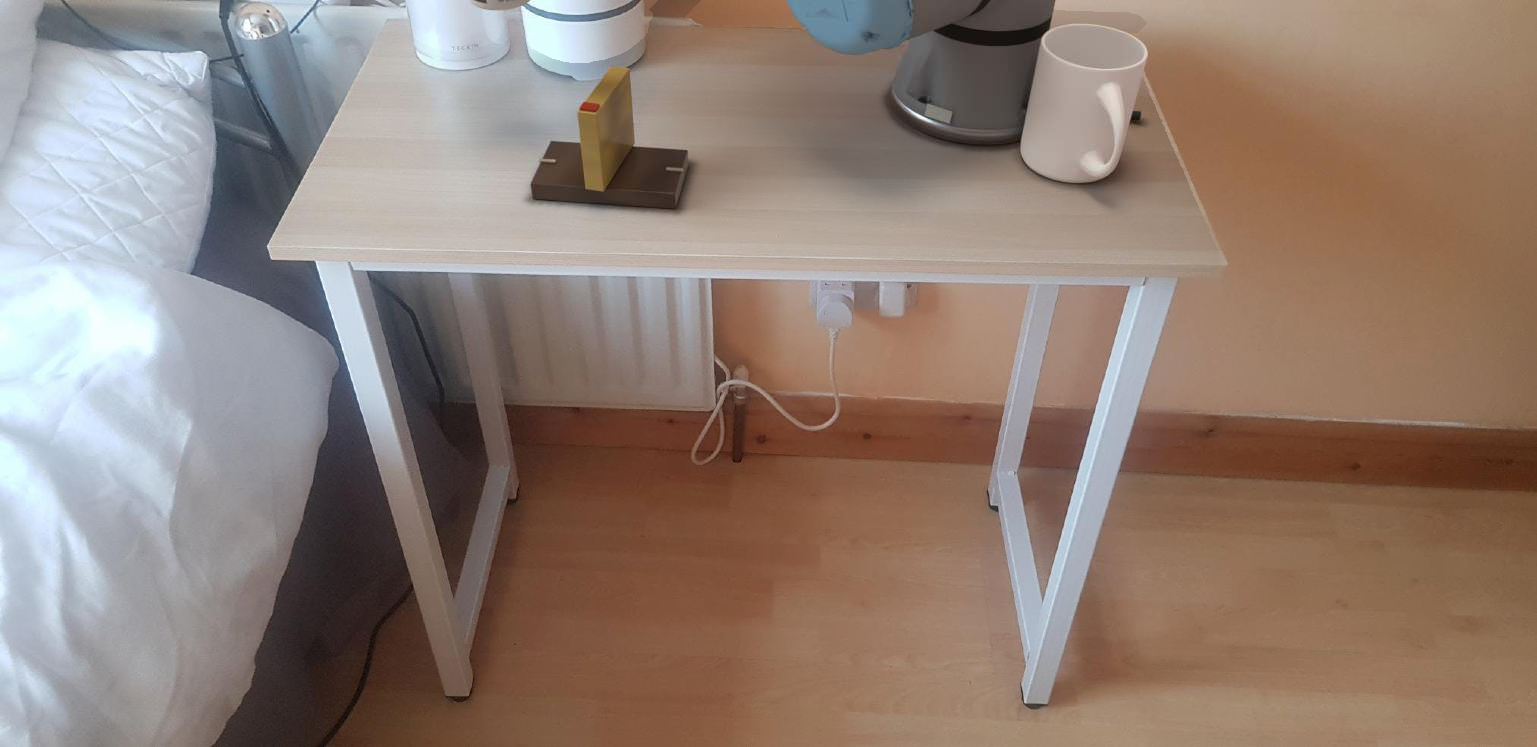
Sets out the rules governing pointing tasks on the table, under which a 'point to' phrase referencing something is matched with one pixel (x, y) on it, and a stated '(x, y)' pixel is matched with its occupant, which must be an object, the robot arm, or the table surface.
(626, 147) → the lock turn
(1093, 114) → the mug
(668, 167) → the panel
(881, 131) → the table surface
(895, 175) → the table surface
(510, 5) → the supplement bottle
